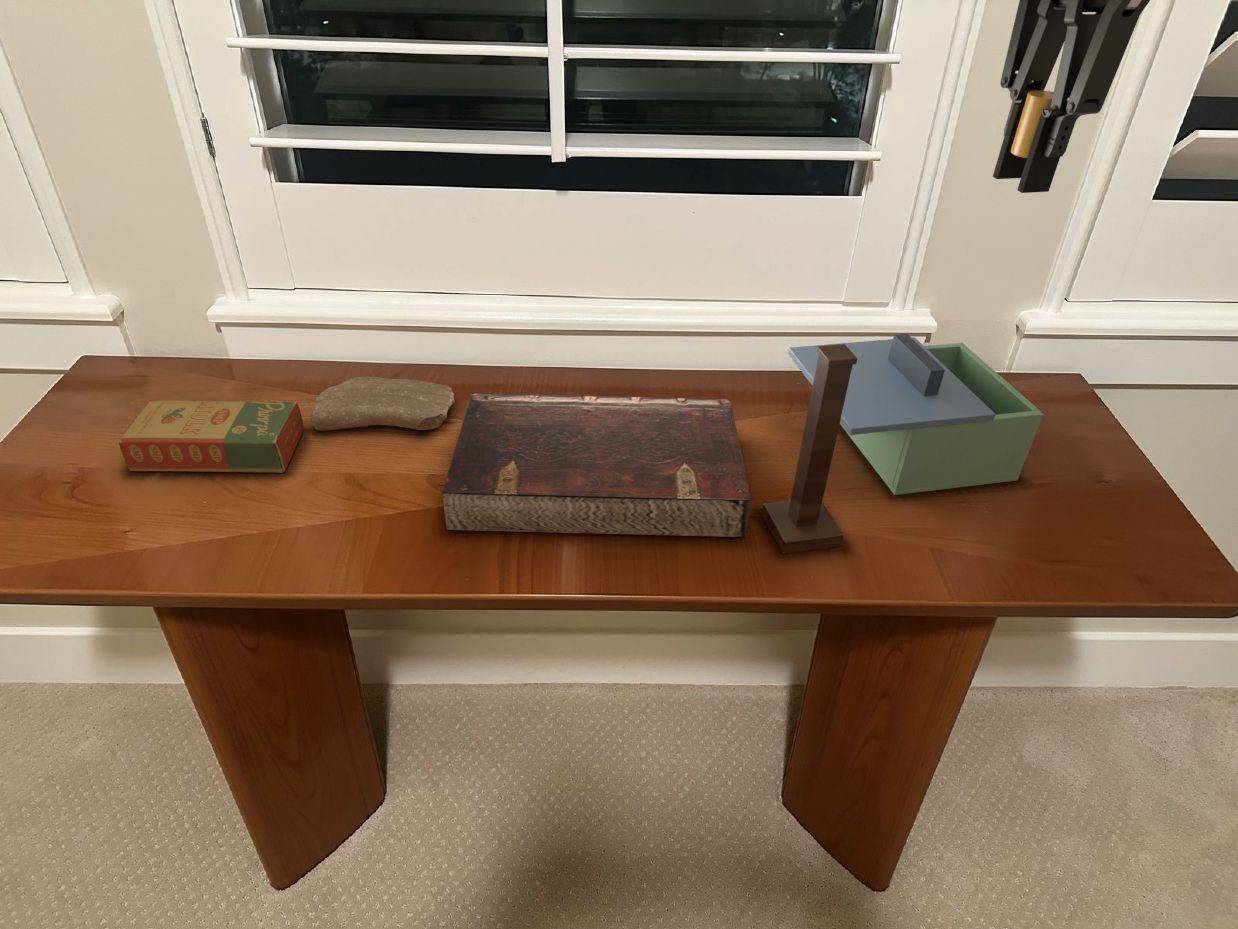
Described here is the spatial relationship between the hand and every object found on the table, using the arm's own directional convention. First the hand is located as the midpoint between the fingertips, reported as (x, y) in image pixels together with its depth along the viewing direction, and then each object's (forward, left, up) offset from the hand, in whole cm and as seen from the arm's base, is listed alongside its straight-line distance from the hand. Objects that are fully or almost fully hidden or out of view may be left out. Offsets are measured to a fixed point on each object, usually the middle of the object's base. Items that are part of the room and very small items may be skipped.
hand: (1020, 183), depth 76 cm
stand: (-3, +23, -30) cm, 38 cm away
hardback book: (+15, +36, -30) cm, 49 cm away
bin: (+1, +1, -30) cm, 30 cm away
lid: (+4, +7, -22) cm, 23 cm away
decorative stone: (+37, +51, -30) cm, 70 cm away
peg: (0, 0, +3) cm, 3 cm away
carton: (+39, +69, -30) cm, 85 cm away
